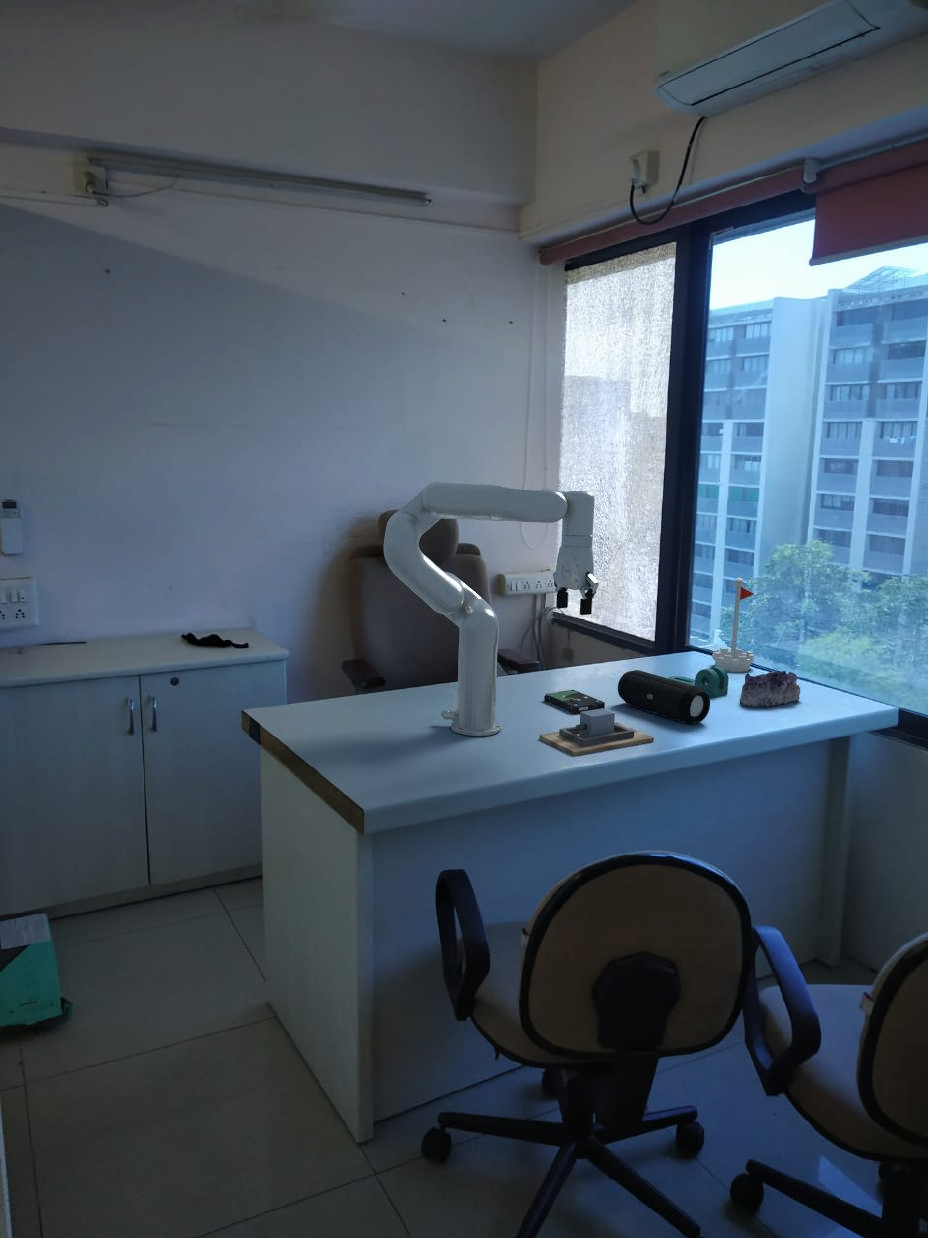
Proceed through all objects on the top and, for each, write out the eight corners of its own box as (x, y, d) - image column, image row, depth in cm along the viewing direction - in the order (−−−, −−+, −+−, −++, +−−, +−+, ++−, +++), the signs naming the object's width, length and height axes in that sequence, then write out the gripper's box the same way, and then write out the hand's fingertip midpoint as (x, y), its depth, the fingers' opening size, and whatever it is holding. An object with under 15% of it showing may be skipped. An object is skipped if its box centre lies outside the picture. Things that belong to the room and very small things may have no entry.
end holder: (539, 738, 223) (539, 729, 223) (616, 726, 235) (617, 716, 234) (573, 756, 211) (574, 745, 211) (653, 741, 223) (654, 731, 223)
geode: (765, 713, 250) (763, 677, 249) (730, 709, 259) (728, 674, 258) (808, 699, 262) (807, 665, 261) (773, 696, 271) (771, 662, 270)
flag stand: (713, 671, 296) (720, 579, 290) (709, 662, 308) (716, 574, 303) (755, 674, 294) (763, 581, 288) (749, 664, 306) (757, 575, 301)
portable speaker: (614, 705, 254) (616, 670, 252) (639, 700, 260) (641, 666, 258) (685, 729, 234) (688, 691, 232) (711, 723, 240) (714, 686, 238)
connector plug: (571, 737, 222) (572, 713, 221) (605, 731, 227) (606, 707, 226) (582, 742, 218) (583, 718, 217) (617, 736, 223) (618, 712, 222)
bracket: (727, 695, 268) (729, 668, 267) (713, 698, 264) (715, 672, 263) (676, 682, 282) (678, 657, 280) (663, 685, 277) (664, 660, 276)
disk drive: (605, 712, 249) (572, 698, 262) (606, 702, 249) (573, 688, 261) (574, 716, 244) (542, 702, 257) (575, 706, 244) (543, 692, 256)
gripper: (543, 538, 228) (541, 606, 232) (586, 546, 214) (582, 618, 217) (568, 538, 232) (565, 604, 235) (611, 545, 217) (607, 616, 220)
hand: (573, 611), depth 226 cm, fingers open, 9 cm apart
